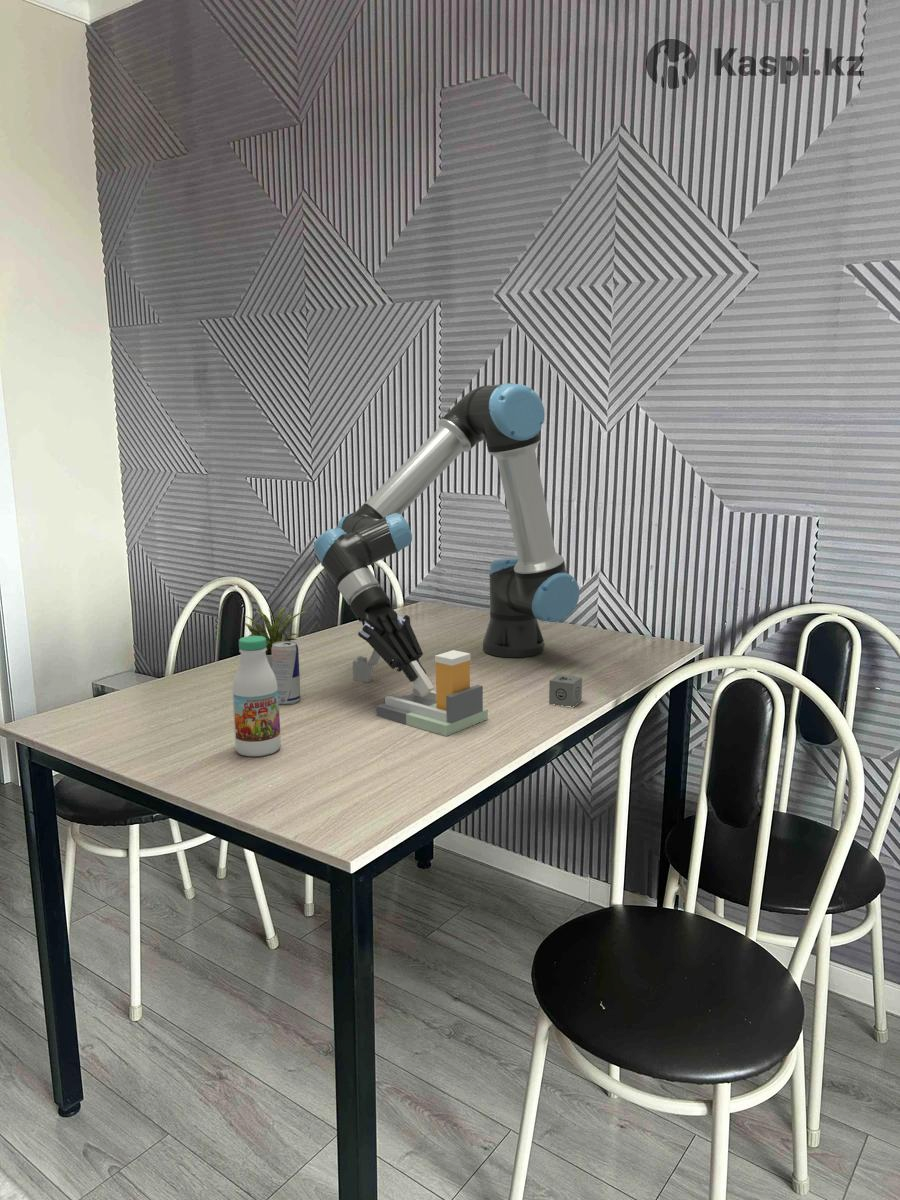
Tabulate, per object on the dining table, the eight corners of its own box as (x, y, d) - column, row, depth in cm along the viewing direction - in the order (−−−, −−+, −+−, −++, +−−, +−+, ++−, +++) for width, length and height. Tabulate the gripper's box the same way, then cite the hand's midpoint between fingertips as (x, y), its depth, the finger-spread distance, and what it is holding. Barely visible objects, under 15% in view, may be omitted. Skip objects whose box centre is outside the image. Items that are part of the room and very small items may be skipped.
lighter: (352, 679, 196) (351, 644, 194) (357, 677, 198) (356, 642, 196) (380, 683, 193) (379, 648, 191) (384, 681, 194) (383, 646, 193)
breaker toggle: (435, 713, 166) (434, 655, 164) (453, 706, 170) (453, 650, 168) (452, 718, 163) (452, 659, 161) (470, 711, 167) (470, 653, 165)
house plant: (304, 665, 208) (301, 597, 204) (317, 681, 195) (314, 608, 192) (242, 672, 203) (238, 602, 199) (252, 689, 190) (247, 614, 187)
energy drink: (304, 697, 184) (302, 641, 181) (293, 705, 178) (290, 647, 176) (281, 695, 185) (278, 640, 183) (269, 703, 180) (266, 646, 178)
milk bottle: (227, 749, 155) (220, 638, 151) (265, 738, 160) (259, 630, 156) (251, 761, 149) (244, 646, 145) (289, 749, 155) (284, 637, 151)
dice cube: (558, 697, 182) (558, 674, 181) (581, 701, 180) (582, 677, 179) (549, 704, 178) (549, 680, 177) (572, 708, 176) (573, 683, 175)
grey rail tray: (376, 715, 172) (375, 680, 171) (418, 700, 181) (418, 667, 179) (446, 736, 160) (445, 699, 159) (487, 719, 169) (487, 684, 168)
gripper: (378, 602, 184) (440, 694, 177) (332, 612, 175) (394, 711, 168) (396, 580, 180) (460, 673, 173) (349, 589, 170) (415, 689, 163)
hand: (428, 692), depth 170 cm, fingers closed
